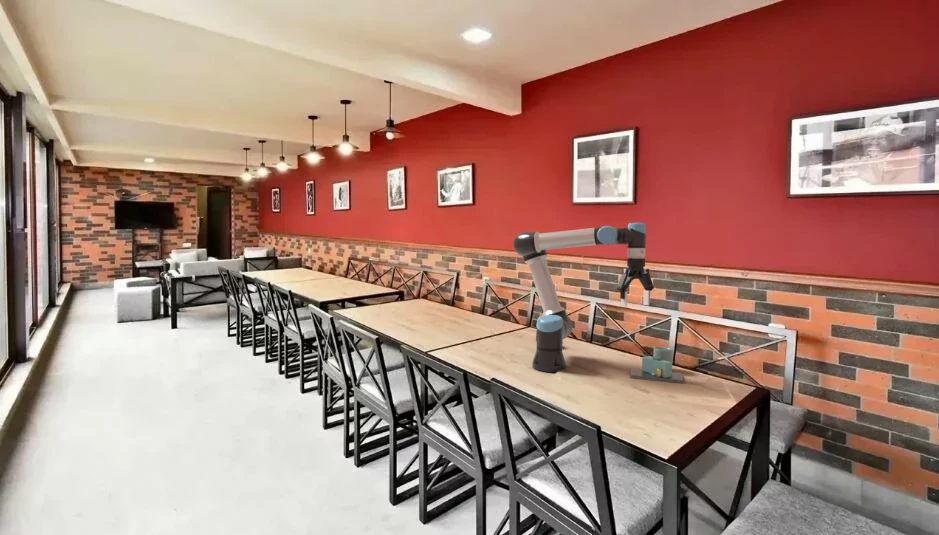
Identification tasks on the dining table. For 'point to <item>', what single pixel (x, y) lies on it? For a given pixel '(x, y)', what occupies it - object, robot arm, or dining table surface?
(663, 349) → the cup
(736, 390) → the dining table surface
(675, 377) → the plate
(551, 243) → the robot arm
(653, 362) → the teal rectangular block
